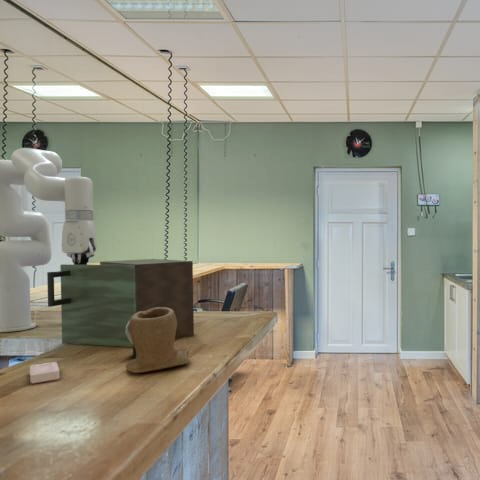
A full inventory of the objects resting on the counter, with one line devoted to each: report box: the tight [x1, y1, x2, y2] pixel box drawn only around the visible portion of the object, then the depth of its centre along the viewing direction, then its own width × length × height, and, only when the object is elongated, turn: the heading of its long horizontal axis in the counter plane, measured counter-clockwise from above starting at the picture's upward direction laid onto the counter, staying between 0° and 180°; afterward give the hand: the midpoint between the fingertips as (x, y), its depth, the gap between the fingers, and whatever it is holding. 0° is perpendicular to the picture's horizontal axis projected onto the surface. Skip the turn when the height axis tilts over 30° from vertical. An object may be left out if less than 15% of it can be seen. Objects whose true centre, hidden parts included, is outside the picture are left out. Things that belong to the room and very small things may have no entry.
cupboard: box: [99, 258, 195, 340], centre depth 151 cm, size 18×26×24 cm
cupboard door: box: [46, 263, 136, 348], centre depth 135 cm, size 8×26×24 cm, turn 75°
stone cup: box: [124, 307, 190, 374], centre depth 113 cm, size 15×12×15 cm
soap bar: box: [29, 361, 60, 385], centre depth 107 cm, size 5×9×2 cm, turn 37°
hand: (80, 275), depth 143 cm, fingers closed
